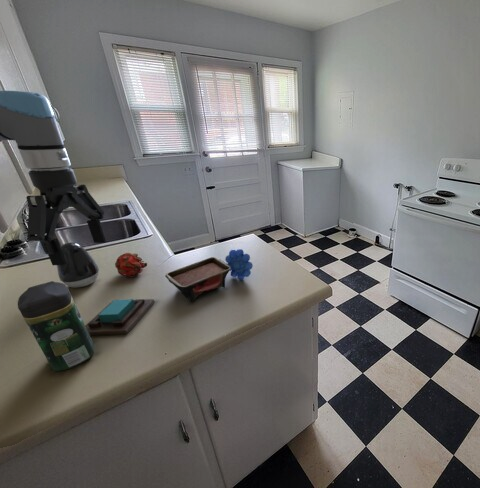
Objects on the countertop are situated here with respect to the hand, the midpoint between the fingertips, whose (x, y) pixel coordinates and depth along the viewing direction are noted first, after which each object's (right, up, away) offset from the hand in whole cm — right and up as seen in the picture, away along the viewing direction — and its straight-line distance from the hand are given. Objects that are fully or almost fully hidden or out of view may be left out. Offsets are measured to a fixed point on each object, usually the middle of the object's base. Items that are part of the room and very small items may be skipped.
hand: (82, 252), depth 70 cm
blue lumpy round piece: (+34, -10, +26) cm, 44 cm away
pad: (+5, -18, +6) cm, 19 cm away
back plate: (+5, -19, +6) cm, 20 cm away
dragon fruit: (-8, -9, +29) cm, 32 cm away
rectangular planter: (+22, -13, +20) cm, 33 cm away
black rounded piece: (-20, -12, +23) cm, 33 cm away
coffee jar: (+4, -24, -7) cm, 26 cm away
